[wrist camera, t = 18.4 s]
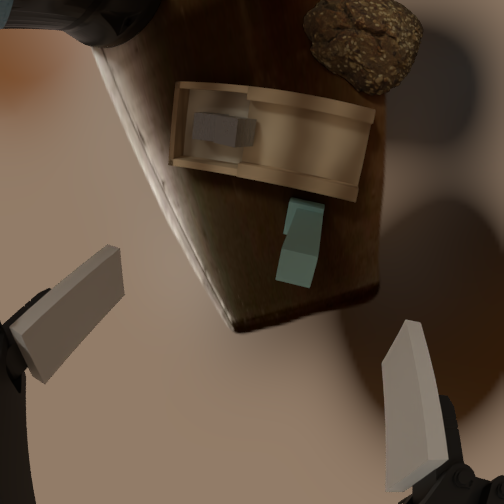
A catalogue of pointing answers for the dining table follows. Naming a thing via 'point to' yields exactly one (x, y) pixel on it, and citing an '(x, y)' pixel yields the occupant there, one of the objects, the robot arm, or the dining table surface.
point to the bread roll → (364, 41)
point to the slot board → (275, 137)
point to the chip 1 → (205, 125)
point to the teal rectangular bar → (300, 242)
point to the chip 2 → (234, 131)
